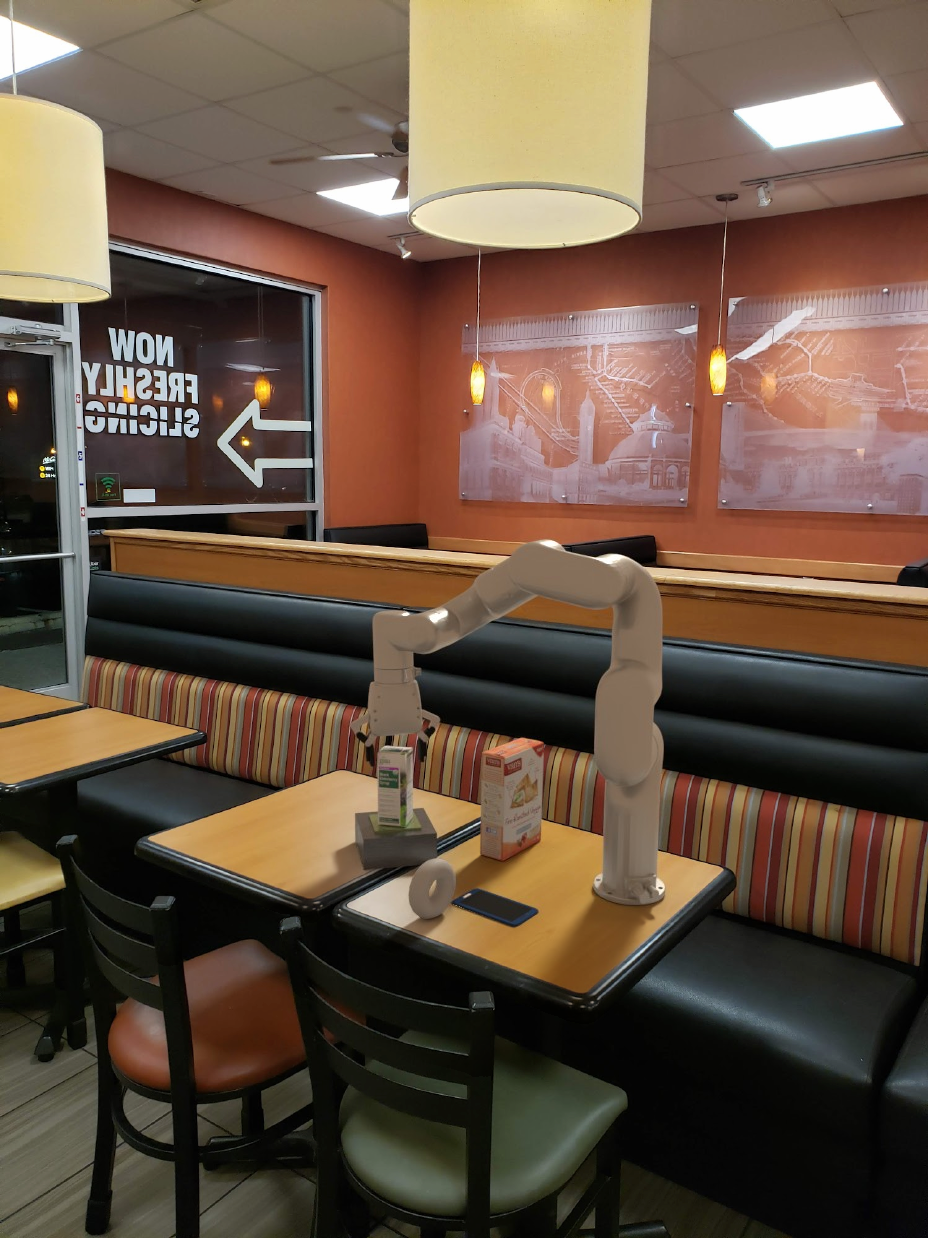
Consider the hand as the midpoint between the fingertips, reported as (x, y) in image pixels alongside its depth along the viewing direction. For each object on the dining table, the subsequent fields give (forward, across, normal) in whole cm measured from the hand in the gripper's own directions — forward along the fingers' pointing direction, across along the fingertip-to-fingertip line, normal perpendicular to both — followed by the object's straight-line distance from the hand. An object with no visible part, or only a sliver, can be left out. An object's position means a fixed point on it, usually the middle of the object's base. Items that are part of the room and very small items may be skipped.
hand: (396, 762), depth 175 cm
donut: (+19, -1, +28) cm, 33 cm away
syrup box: (+12, 0, 0) cm, 12 cm away
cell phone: (+19, -12, +26) cm, 35 cm away
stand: (+18, +1, 0) cm, 18 cm away
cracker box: (+19, -22, +2) cm, 29 cm away
